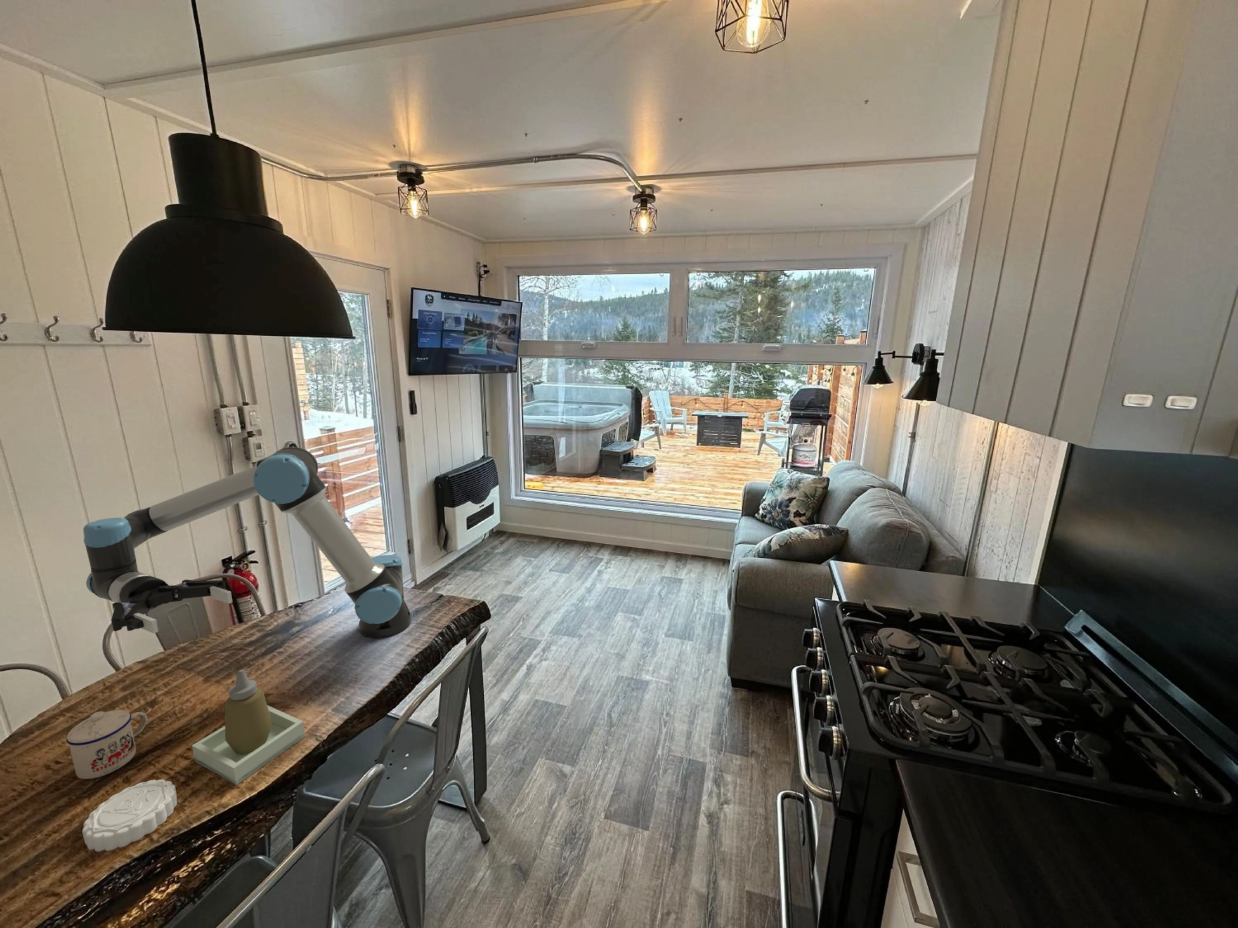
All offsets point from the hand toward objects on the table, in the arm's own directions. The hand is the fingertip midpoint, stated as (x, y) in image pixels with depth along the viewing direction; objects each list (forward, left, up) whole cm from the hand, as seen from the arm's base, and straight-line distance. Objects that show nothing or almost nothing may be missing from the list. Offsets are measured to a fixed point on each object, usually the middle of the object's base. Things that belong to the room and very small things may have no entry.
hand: (194, 611), depth 103 cm
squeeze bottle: (0, +14, -29) cm, 32 cm away
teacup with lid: (+13, -9, -30) cm, 34 cm away
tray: (0, +14, -30) cm, 33 cm away
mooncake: (+19, +12, -30) cm, 37 cm away
